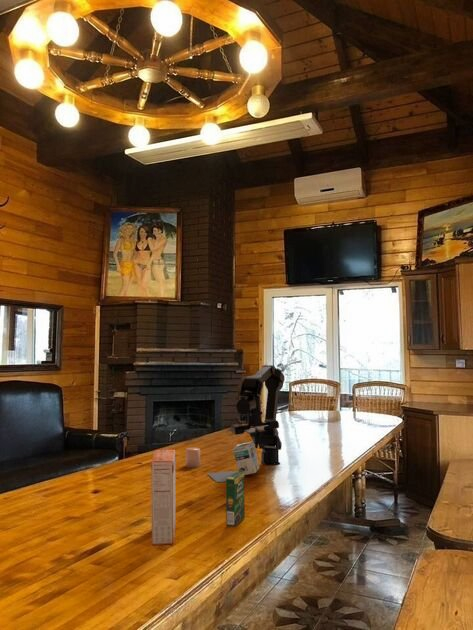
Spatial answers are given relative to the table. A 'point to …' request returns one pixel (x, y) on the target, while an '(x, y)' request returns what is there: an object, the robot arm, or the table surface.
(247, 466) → the light bulb box
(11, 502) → the table surface
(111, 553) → the table surface
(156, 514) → the cracker box
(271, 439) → the robot arm
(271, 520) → the table surface
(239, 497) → the coffee box
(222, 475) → the mat
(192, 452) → the pink rounded capsule
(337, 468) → the table surface
